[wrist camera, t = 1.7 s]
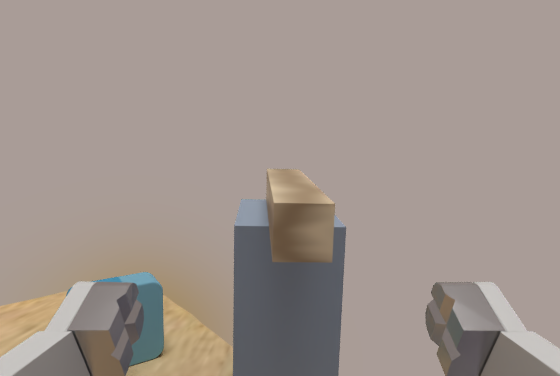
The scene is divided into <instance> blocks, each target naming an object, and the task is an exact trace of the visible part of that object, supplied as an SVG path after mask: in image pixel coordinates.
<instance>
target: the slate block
mask: <svg viewBox="0 0 560 376" xmlns="http://www.w3.org/2000/svg"><path fill="white" fill-rule="evenodd" d="M345 236H346V227H345V226H344V224H342V222H341V221H340V220H339V219H338V218H337V217H336V216H335V215H334V236H333V257H332V263H321V262H272V252H271V242H270V232H269V222H268V212H267V202H266V200H252V199H241V203H240V207H239V211H238V214H237V218H236V222H235V227H234V328H233V329H234V331H233V332H234V333H233V376H338V368H339V350H340V330H341V312H342V294H343V275H344V256H345V255H344V254H345Z"/></svg>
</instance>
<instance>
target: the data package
mask: <svg viewBox="0 0 560 376" xmlns="http://www.w3.org/2000/svg"><path fill="white" fill-rule="evenodd" d="M91 282H130V283H136V285H137V288H138V291H139V294H138V296H137V300H138V301H139V302H140V303H141V304H142V306H143V310H144V322H143V329H142V332H141V335H140V338H139V339H138V340H137V341H136V342H135V343H134V344H133V345H132V350H133V353H134V354H133V357H132V360H131V362H130V365H129V366H132V365H135V364H138V363H141V362H145V361H148V360H151V359H154V358H156V357H158V356H159V355H160V354H161V352H162V351H163V348H164V332H163V289H162V286H161V285H160V283H159V282H158V281H157V280H156V279H155V277H154V276H153V275H152V274H150V273H148V272H143V273H137V274H132V275H126V276H120V277H114V278H108V279H103V280H97V281H91ZM71 288H72V287H71ZM71 288H70V289H69V290H68V292H67V295H68V293H69V291H70V290H71ZM67 295H66V296H67Z"/></svg>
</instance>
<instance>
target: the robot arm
mask: <svg viewBox="0 0 560 376" xmlns="http://www.w3.org/2000/svg"><path fill="white" fill-rule="evenodd" d="M138 294H139V291H138V288H137V285H136V283H130V282H77V283H76V284H75V285H73V287H72V288H71V290H70V291H69V293H68V295H67V296H66V298H65V299H64V301H63V302H62V304H61V306H60V307H59V309H58V310H57V312H56V313H55V315H54V317H53V318H52V320H51V321H50V323H49V324H48V326H47V328H46V329H45V331H38V332H37V333H35V334H34V335H32V336H31V337H29V338H28V339H26V340H25V341H23V342H22V343H21V344H19V345H18V346H16V347H15V348H13V349H12V350H10V351H9V352H7V353H6V354H4V355H3V356H1V357H0V376H126V373H127V370H128V368H129V365H130V362H131V360H132V357H133V354H134V353H133V350H132V345H133V344H134V343H135V342H136V341H137V340H138V339H139V338H140V335H141V332H142V329H143V322H144V310H143V306H142V304H141V303H140V302H139V301H138V300H137V296H138ZM431 294H432V296H433V298H434V300H432V301H431V302H430V303H429V304H428V305H427V309H426V326H427V330H428V333H429V336H430V338H431V340H432V341H434V342H435V343H436V344H437V345H438V346H439V348H438V352H437V356H438V358H439V361H440V363H441V366H442V368H443V371H444V373H445V376H560V349H559V348H557V347H556V346H554V345H553V344H552V343H550V342H549V341H547V340H546V339H544V338H542V337H541V336H539V335H538V334H537V333H535V332H528V331H527V329H526V328H525V327H524V325H523V324H522V322H521V321H520V319H519V318H518V316H517V315H516V313H515V312H514V310H513V309H512V307H511V306H510V304H509V303H508V301H507V300H506V299H505V297H504V295H503V294H502V293H501V291H500V290H499V288H498V287H497V285H496V284H494V283H493V282H473V283H472V282H448V283H447V282H445V283H444V282H441V283H435V285H434V286H433V288H432V291H431Z"/></svg>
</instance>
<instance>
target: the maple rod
mask: <svg viewBox="0 0 560 376" xmlns="http://www.w3.org/2000/svg"><path fill="white" fill-rule="evenodd" d="M266 202H267V212H268V222H269V232H270V242H271V252H272V262H321V263H332V257H333V236H334V215H335V203H334V202H333V201H331V200H330V199H329V198H328V197H327V196H326V195H325V194H324V193H323V192H322V191H321V190H320V189H319V188H318V187H317V186H316V185H315V184H314V183H313V182H312V181H311V180H310V179H309V178H307V177H306V176H305V175H304V174H303V173H302V172H301V171H300V170H297V169H267V194H266Z"/></svg>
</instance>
